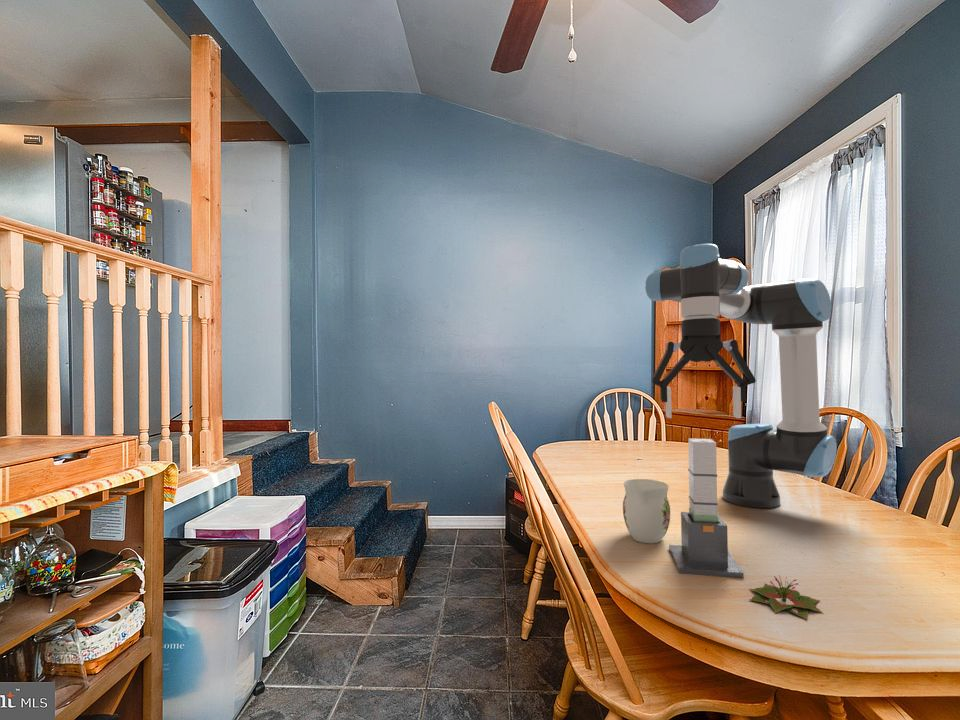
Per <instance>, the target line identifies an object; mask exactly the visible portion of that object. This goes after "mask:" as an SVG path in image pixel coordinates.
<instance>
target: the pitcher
mask: <svg viewBox="0 0 960 720" xmlns="http://www.w3.org/2000/svg"><path fill="white" fill-rule="evenodd" d="M623 486H624V491H625V495H624V498H623V501H622V515H623V519H624V520H623V521H624V524H625V526H626V529H627V531H628V533H629V534H630V535H631V537H632V539H633V540H634V541H637V542H640V543H645V544H657V543H660V542H661V541H662V539H663V538H664V537H665V535H666V534H667V532H668V529H669V527H670V523H671V505H670V501H669V499H668V492H669V484H668V483H665V482H663V481H659V480H655V479H648V478H634V479H628V480H625V481H624V482H623Z"/></svg>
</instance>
